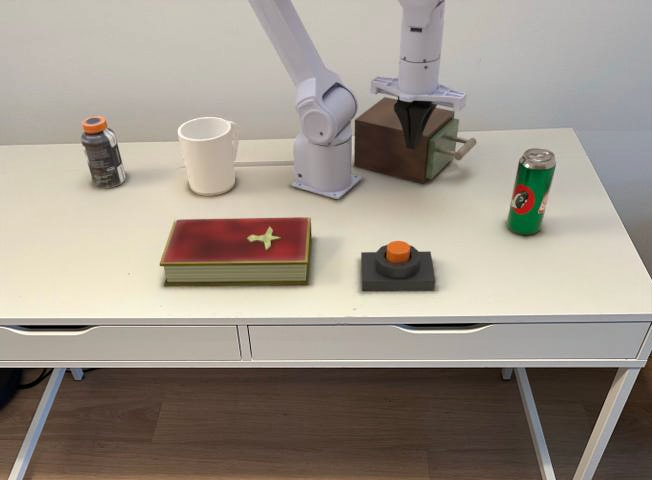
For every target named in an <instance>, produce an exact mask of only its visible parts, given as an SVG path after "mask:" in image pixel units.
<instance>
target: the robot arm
mask: <svg viewBox="0 0 652 480" xmlns="http://www.w3.org/2000/svg"><path fill="white" fill-rule="evenodd" d="M397 1H398V3H399V5H400V6H401V7H402V18H401V25H400V26H401V27H400V42H399V44H400V45H399V46H400V47H399V59H398V60H399V61H398V75H397V76H398V77H385V76H376V77H374V78H373V79H371V80H370V94H372V95H379V94H382V95H387V96H391V97H396V98H397V103H395V104H394V111H395V113H396V114H397V116H398V118H399V121H400V123H401V126H402V129H403V133H404V137H405V142H406V148H409V149H413V150H414V149H415V148H416V147H418V146H419V145H420V141H421V137H422V134H423V131H424V129H425V126H426V124H427V122H428V120H429V118H430V116H431V114H432V113H433V111H434V109H435V108H437V107H438V106H440V107H441V106H442V107H447V108H451V109H452V111H455V112H461V111H462V110H463V109H464V108H465V107H466V102H467V97H468V96H467V94H468V93H467V92H462V91H459V90H456V89H453V88H451V87H448V86H446V85H443V84H440V83H439V76H440V75H439V74H440V64H441V55H442V44H443V35H444V26H445V7H446V0H397ZM247 2H248V4H249V5H250V7H251V8H252V10H253V12H254V14H255V15H256V18H257V19H258V21H259V24H260V25H261V27H262V28H263V30H264V32H265V34H266V36H267V37H268V39H269V41H270V43H271V45H272V46H273V49H274V50H275V53H276V54H277V56H278V58H279V59H280V61H281V63H282V65H283V67H284V68H285V70H286V72H287V75H288V76H289V78H290V79H291V82H292V83H293V86H295V96H294V97H295V98H294V108H295V110H296V112H297V114H298V116H299V122H300V128H301V130H300V131H299V133H298V134H297V135H296V137H295V139H294V143H293V149H292V153H293V154H292V155H293V172H294V182H292V183H291V185H292V187H294V188H296V189H300V190H304V191H307V192H310V193H314V194H317V195H320V196H325V197H327V198H331V199H333V200H339V199H341V198H342V197H343V196H344V195H346V193H348V192H349V191H350V190H351V189H352V188H354V186H356V185H357V184H358V183H359V182H361V180H362V177H361V176H360V175H356V174H352V165H353V163H352V158H353V157H352V156H353V151H352V150H353V149H352V148H353V131H352V120H353V119H355V116H356V115H357V112H358V109H359V102H358V99H357V96H356V94H355V92H354V91H353V90H352V89H351V88H350V87H349V86H347V85H346V84H345V83H344V82H343V80H342V78H341V77H340V75H339V74H338V73H337V72H335V71H333V70H331V69H328V68H327V67H326V65H325V63H324V61H323V60H322V58H321V56H320V54H319V52H318V49H317V48H316V46H315V44H314V42H313V40H312V38H311V37H310V35H309V33H308V31H307V29H306V27H305V25H304V23H303V21H302V19H301V17H300V16H299V14H298V11H297V9H296V8H295V5H294V4H293V3H292V1H291V0H247Z"/></svg>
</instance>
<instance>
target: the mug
mask: <svg viewBox="0 0 652 480" xmlns="http://www.w3.org/2000/svg"><path fill="white" fill-rule="evenodd" d="M239 130H240V129H239V127H238V125H237V123H236V122H234V121H232V120H227V119H224V118H221V117H217V116H206V117H204V116H203V117H197V118H194V119H190V120H188V121H185V122H184V123H183V124H181V125H180V126H179V127H178V129H177V137H178V141H179V145H180V149H181V155H182V157H183V163H184V167H185V171H186V175H187V179H188V185H189V188H190V190H191V191H192V192H193V193H195V194H196V195H199V196H203V197H214V196H219V195H223V194H226V193H227V192H229V191H231V189H233V188H234V186H235V184H236V173H235V162H236V159H237V153H238V150H239V149H238V148H239V141H240V131H239ZM232 132H233V133H232Z"/></svg>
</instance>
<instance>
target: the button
mask: <svg viewBox="0 0 652 480" xmlns="http://www.w3.org/2000/svg"><path fill="white" fill-rule="evenodd" d="M386 245H387V253H386V258H387V260H388V261H389V262H392V263H405V262H407V261H408V260H409V256H410V246H411V244H409V243H408V242H406V241H403V240H393V241H390V242H389V243H387V244H386Z"/></svg>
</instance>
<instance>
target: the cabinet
mask: <svg viewBox="0 0 652 480" xmlns="http://www.w3.org/2000/svg"><path fill="white" fill-rule="evenodd" d="M397 100H398V98H392V97H388V96H387V97H386V96H384V97H383V98H381V99H380V100H378V101H377V102H375V104H373V105H372V106H371V107H369V108H368V109H367V110H366V111H364V112H363V113H361V114H360V115H359V116H358V117H356V118H354V141H353V142H354V147H353V148H354V150H353V151H354V153H353V154H354V155H353V157H354V158H353V162H354V163H353V166H354V167H357V168H361V169H364V170H368V171H373V172H376V173H380V174H384V175H387V176H390V177H391V176H392V177H394V178H395V177H396V178H398V179H403V180H406V181H410V182H414V183H419V184H421V185H424V183H426V182H427V181H428V180H429V179H428V178H425V175H426V164H427V154H428V143H429V138H430V137H432V136H433V135H434V134H435V133H436V132H437V131H438V130H439V129H440V128H441V127H444V126H445V125H446V124H447V123H448V122H449V121H450V120H451V119H452V118H455V113H456V111H454V110H449V109H445V108H440V107H436V108H435V109H434V111H433V113H432V114H431V116H430V118H429V120H428V122H427V124H426V126H425V129H424V131H423V134H422V137H421V141H420V145H419V146H418V147H416V148H415V149H414V150H413V149H409V148H406V142H405V137H404V133H403V129H402V126H401V123H400V121H399V118H398V116H397V114H396V113H395V111H394V104H395V103H397Z"/></svg>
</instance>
